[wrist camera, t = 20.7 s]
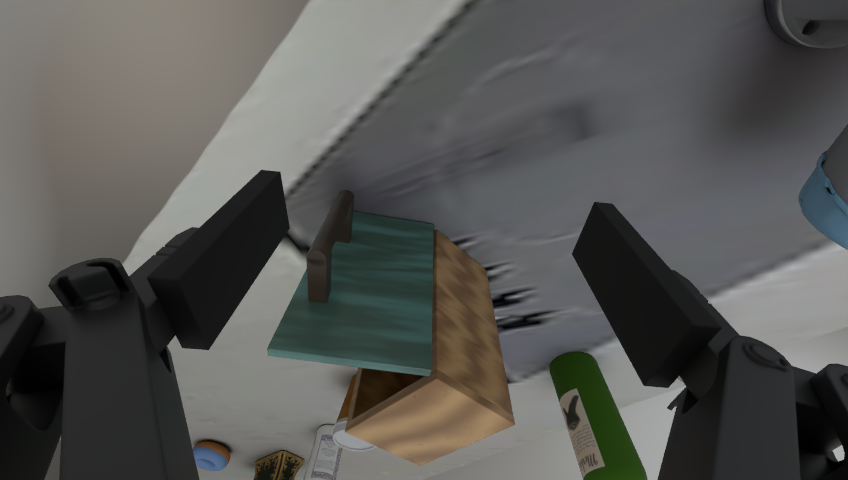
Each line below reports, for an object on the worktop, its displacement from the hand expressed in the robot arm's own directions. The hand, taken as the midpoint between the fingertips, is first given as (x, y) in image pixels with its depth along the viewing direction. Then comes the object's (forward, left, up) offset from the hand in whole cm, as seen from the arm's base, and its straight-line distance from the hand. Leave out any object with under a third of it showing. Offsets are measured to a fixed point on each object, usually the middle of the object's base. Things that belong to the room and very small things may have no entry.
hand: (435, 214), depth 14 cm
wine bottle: (+57, +12, -29) cm, 65 cm away
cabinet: (+27, -8, -29) cm, 40 cm away
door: (+12, -10, -29) cm, 33 cm away
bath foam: (+70, -47, -29) cm, 89 cm away
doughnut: (+71, -83, -29) cm, 113 cm away
